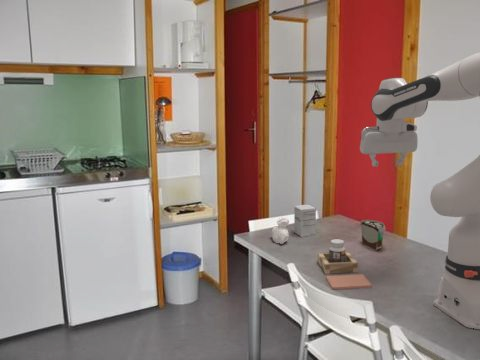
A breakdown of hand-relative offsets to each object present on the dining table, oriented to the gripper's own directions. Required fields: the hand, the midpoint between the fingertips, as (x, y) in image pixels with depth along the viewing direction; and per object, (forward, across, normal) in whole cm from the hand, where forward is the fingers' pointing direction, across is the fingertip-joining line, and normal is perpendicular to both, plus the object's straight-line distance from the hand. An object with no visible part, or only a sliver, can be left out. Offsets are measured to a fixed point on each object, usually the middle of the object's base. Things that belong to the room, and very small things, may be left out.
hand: (387, 165), depth 164 cm
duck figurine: (+38, -28, +36) cm, 59 cm away
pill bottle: (+38, -16, +3) cm, 41 cm away
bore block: (+37, -16, +3) cm, 41 cm away
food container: (+38, +7, +18) cm, 43 cm away
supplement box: (+38, -15, +42) cm, 59 cm away
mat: (+37, -18, -11) cm, 43 cm away
